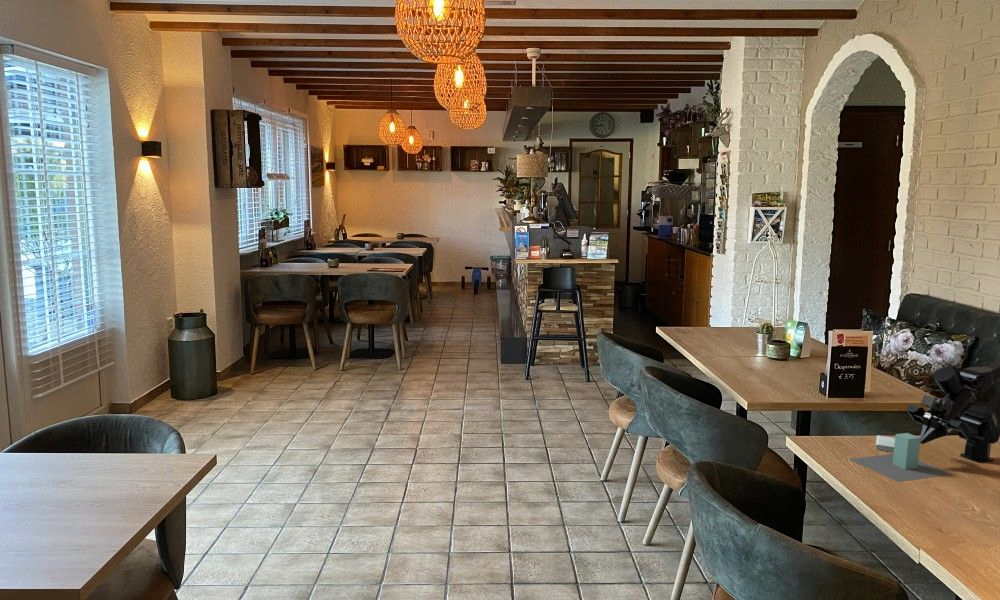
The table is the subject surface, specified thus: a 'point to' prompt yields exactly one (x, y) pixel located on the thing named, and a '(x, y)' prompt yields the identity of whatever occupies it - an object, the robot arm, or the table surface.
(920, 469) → the rubber mat
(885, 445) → the hard drive
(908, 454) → the teal block
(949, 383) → the robot arm
